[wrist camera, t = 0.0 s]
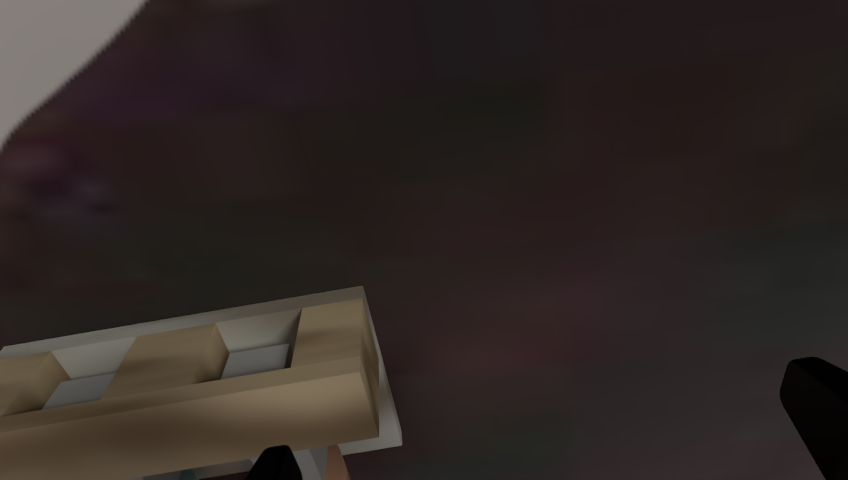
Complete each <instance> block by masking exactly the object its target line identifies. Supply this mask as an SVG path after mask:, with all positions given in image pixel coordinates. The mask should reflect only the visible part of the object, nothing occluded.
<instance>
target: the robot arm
mask: <svg viewBox="0 0 848 480" xmlns="http://www.w3.org/2000/svg"><path fill="white" fill-rule="evenodd" d="M780 399H781V402H782V404H783V407H784V408H785V410H786V412H787V414H788V415H789V417H790V419H791V420H792V422H793V424H794V426H795V427H796V429H797V431H798V433H799V434H800V436H801V438H802V440H803V441H804V443H805V445H806V447H807V448H808V450H809V452H810V454H811V455H812V457H813V459H814V460H815V462H816V464H817V466H818V467H819V469H820V471H821V473H822V474H823V476H824V478H825V479H826V480H848V372H847V371H845V370H843V369H841V368H839V367H837V366H835V365H833V364H831V363H829V362H827V361H825V360H822V359H820V358H817V357H806V358H800V359H794V360H792V361H790V362H789V363H788V365H787V368H786V372H785V375H784V378H783V382H782V385H781V388H780ZM244 480H303V478H302V473H301V470H300V468H299V466H298V463H297V461H296V459H295V457H294V454H293V452H292V450H291V448H290V447H289V446H288V445H279V446H273V447H268V448H266V449H265V450H264V451H263V452H262V453H261V455H260V456H259V457H258V459H257V460H256V462H255V463H254V465H253V466H252V468H251V469H250V471H249V472H248V474H247V475H246V477H245V478H244Z"/></svg>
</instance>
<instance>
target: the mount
mask: <svg viewBox="0 0 848 480" xmlns="http://www.w3.org/2000/svg"><path fill="white" fill-rule="evenodd" d="M283 344H290V347H291V349H292V352H293V358H292V363H291V368H286V369H280V370H274V371H268V372H262V373H257V374H251V375H245V376H239V377H233V378H227V379H221V377H222V375H223V372H224V369H225V366H226V363H227V360H228V357H229V354H230V353H235V352H241V351H247V350H253V349H259V348H265V347H271V346H277V345H283ZM111 373H115V375H114V377H113V378H112V380H111V382H110V383H109V385H108V387H107V389H106V390H105V392H104V394H103V395H102V397H101V399H100V400H97V401H91V402H85V403H79V404H73V405H67V406H61V407H55V408H49V409H43V410H42V408H43V407H44V406H45V404H46V403H47V401H48V400H49V398H50V397H51V395H52V394H53V393H54V391H55V390H56V388H57V387H58V385H59V384H60V382H64V381H70V380H76V379H82V378H88V377H94V376H100V375H105V374H111ZM336 444H337V445H338V447H339V449H340V451H341V454H342V455H347V454H353V453H359V452H365V451H371V450H377V449H383V448H389V447H395V446H401V445H402V432H401V428H400V424H399V420H398V416H397V412H396V409H395V405H394V401H393V397H392V394H391V390H390V386H389V382H388V379H387V375H386V371H385V367H384V363H383V360H382V356H381V352H380V348H379V345H378V341H377V337H376V333H375V330H374V326H373V322H372V318H371V314H370V311H369V307H368V303H367V299H366V296H365V292H364V288H363V286H357V287H352V288H346V289H340V290H334V291H328V292H322V293H316V294H310V295H305V296H299V297H293V298H287V299H281V300H275V301H269V302H263V303H258V304H252V305H246V306H240V307H234V308H228V309H222V310H216V311H211V312H205V313H199V314H193V315H187V316H181V317H175V318H169V319H164V320H158V321H152V322H146V323H140V324H134V325H128V326H122V327H117V328H111V329H105V330H99V331H93V332H87V333H81V334H75V335H70V336H64V337H58V338H52V339H46V340H40V341H34V342H28V343H23V344H17V345H11V346H5V347H4V348H3V349H2V350H1V351H0V480H126V479H132V478H138V477H144V476H150V475H156V474H162V473H168V472H174V471H180V470H186V469H191V470H192V471H193V473H194V474H195V476H196V478H197V479H203V478H209V477H215V476H221V475H227V474H233V473H239V472H245V471H250V469H251V468H252V466H253V463H252V461H251V459H252V458H258V457H259V456H260V455H261V453H262V452H263V451H264V450H265V449H266V448H268V447H273V446H279V445H288V446H289V447H290V448H291V450H292V452H294V451H300V450H306V449H312V448H318V447H324V446H330V445H336Z"/></svg>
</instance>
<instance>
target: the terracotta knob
mask: <svg viewBox="0 0 848 480" xmlns="http://www.w3.org/2000/svg"><path fill="white" fill-rule="evenodd" d="M292 358H293V352H292V349H291V347H290V344H283V345H277V346H271V347H265V348H259V349H253V350H247V351H241V352H235V353H230V354H229V357H228V360H227V363H226V366H225V369H224V372H223V375H222V377H221V379H227V378H233V377H239V376H245V375H251V374H257V373H262V372H268V371H274V370H280V369H286V368H291V363H292ZM293 454H294V457H295V459H296V461H297V463H298V466H299V468H300V470H301V473H302V478H303V480H351V478H350V475H349V473H348V470H347V467H346V465H345V462H344V459H343V457H342V454H341V451H340V449H339V447H338V445H337V444H336V445H330V446H324V447H318V448H312V449H306V450H300V451H294V452H293ZM257 459H258V458H252V459H251V461H252V463H253V465H254V463H255V462H256V460H257Z"/></svg>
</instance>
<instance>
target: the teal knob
mask: <svg viewBox="0 0 848 480" xmlns="http://www.w3.org/2000/svg"><path fill="white" fill-rule="evenodd" d="M114 375H115V373H111V374H105V375H100V376H94V377H88V378H82V379H76V380H70V381H64V382H60V384H59V385H58V387H57V388H56V390H55V391H54V393H53V394H52V395H51V397H50V398H49V400H48V401H47V403H46V404H45V406H44V407H43V408H42V410H43V409H49V408H55V407H61V406H67V405H73V404H79V403H85V402H91V401H97V400H100V399H101V397H102V395H103V394H104V392H105V390H106V389H107V387H108V385H109V383H110V382H111V380H112V378H113V377H114ZM126 480H198V479H197V478H196V476H195V474H194V473H193V471H192V470H191V469H186V470H180V471H174V472H168V473H162V474H156V475H150V476H144V477H138V478H132V479H126Z"/></svg>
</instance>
